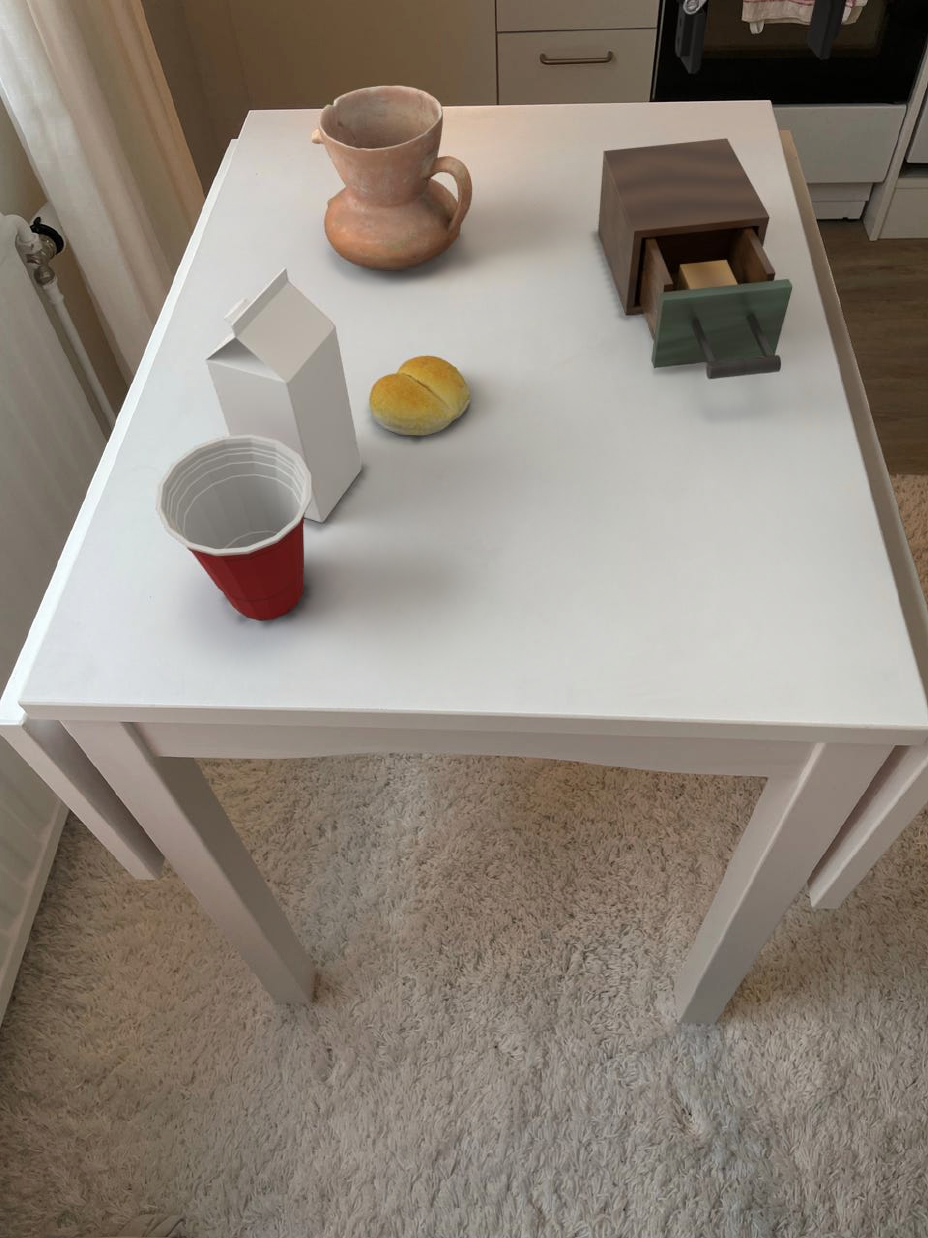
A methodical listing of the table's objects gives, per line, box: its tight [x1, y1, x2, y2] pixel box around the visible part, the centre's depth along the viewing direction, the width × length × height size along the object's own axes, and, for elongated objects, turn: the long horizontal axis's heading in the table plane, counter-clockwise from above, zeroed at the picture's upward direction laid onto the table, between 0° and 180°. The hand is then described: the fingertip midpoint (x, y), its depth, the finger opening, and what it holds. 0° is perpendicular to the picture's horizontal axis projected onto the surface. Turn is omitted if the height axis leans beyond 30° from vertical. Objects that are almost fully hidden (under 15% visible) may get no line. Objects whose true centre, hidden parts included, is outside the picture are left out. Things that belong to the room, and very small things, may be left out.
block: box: [676, 260, 737, 291], centre depth 89 cm, size 4×4×4 cm
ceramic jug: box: [310, 85, 473, 271], centre depth 98 cm, size 18×14×14 cm
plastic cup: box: [155, 435, 311, 621], centre depth 71 cm, size 11×11×12 cm
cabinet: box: [597, 137, 771, 316], centre depth 95 cm, size 15×13×9 cm
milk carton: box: [205, 267, 362, 523], centre depth 75 cm, size 7×7×19 cm
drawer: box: [636, 226, 794, 380], centre depth 87 cm, size 21×11×7 cm, turn 6°
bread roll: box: [369, 355, 472, 436], centre depth 86 cm, size 8×9×4 cm
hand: (753, 58), depth 71 cm, fingers open, 9 cm apart
